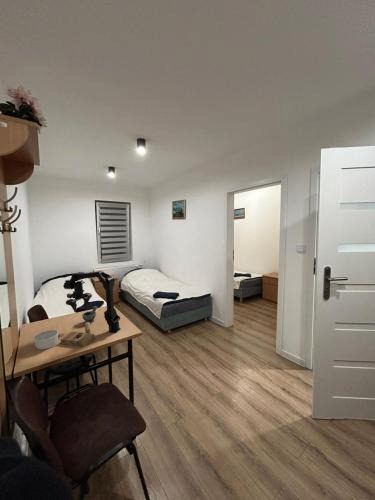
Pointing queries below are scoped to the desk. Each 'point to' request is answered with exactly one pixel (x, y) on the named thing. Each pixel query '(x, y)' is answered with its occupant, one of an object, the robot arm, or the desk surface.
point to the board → (77, 338)
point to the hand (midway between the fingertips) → (80, 309)
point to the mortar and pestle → (89, 315)
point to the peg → (87, 327)
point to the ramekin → (46, 339)
